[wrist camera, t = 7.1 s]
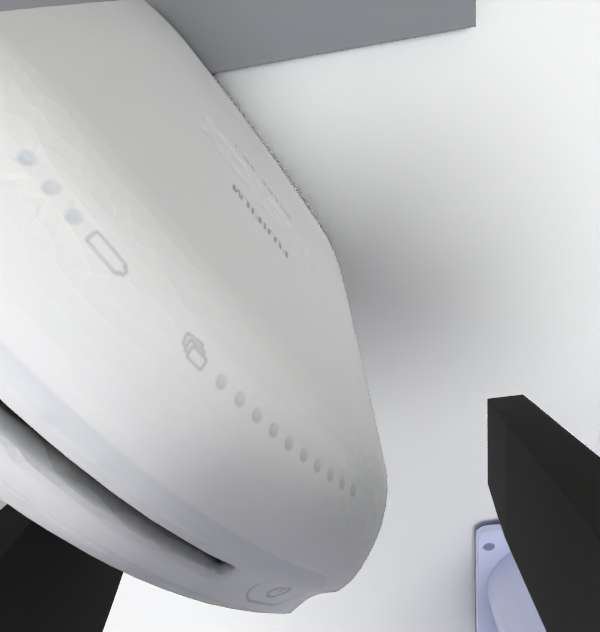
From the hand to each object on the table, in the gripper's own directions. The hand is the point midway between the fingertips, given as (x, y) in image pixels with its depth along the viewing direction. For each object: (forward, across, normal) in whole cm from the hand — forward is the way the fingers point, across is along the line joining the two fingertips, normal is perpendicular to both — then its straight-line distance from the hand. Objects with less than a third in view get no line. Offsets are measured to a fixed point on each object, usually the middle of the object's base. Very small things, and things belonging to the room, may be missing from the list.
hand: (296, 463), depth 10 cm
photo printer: (+9, +2, -4) cm, 10 cm away
